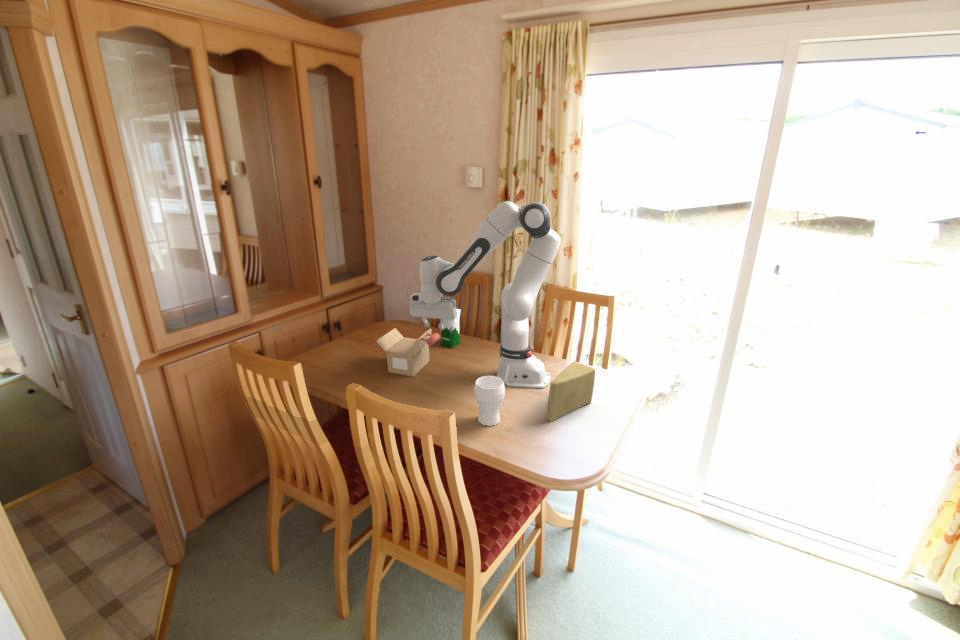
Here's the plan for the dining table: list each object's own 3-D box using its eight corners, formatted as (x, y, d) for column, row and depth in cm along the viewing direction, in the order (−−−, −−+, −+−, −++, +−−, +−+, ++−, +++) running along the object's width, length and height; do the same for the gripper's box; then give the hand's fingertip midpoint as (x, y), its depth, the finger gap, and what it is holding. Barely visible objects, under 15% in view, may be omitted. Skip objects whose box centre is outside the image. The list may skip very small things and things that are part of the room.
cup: (467, 419, 152) (467, 381, 147) (488, 408, 159) (489, 371, 154) (489, 432, 145) (489, 393, 140) (510, 420, 152) (511, 382, 147)
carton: (429, 361, 197) (428, 340, 194) (413, 376, 183) (412, 354, 179) (405, 357, 201) (404, 337, 197) (388, 372, 186) (386, 351, 183)
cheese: (559, 427, 148) (563, 388, 143) (536, 416, 155) (539, 379, 149) (592, 403, 164) (596, 367, 158) (570, 394, 170) (573, 359, 165)
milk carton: (438, 345, 214) (437, 307, 207) (448, 339, 221) (448, 302, 214) (452, 349, 209) (452, 310, 203) (463, 343, 217) (462, 305, 210)
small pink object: (428, 340, 193) (442, 344, 192) (412, 354, 179) (427, 358, 178) (430, 326, 191) (444, 330, 189) (414, 339, 177) (429, 343, 175)
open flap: (386, 350, 183) (385, 351, 184) (403, 337, 197) (402, 338, 197) (377, 340, 183) (375, 341, 183) (395, 327, 197) (394, 328, 197)
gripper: (458, 295, 176) (459, 327, 181) (413, 292, 182) (415, 322, 187) (452, 299, 170) (454, 332, 175) (406, 296, 177) (408, 327, 181)
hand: (434, 327), depth 181 cm, fingers open, 5 cm apart
